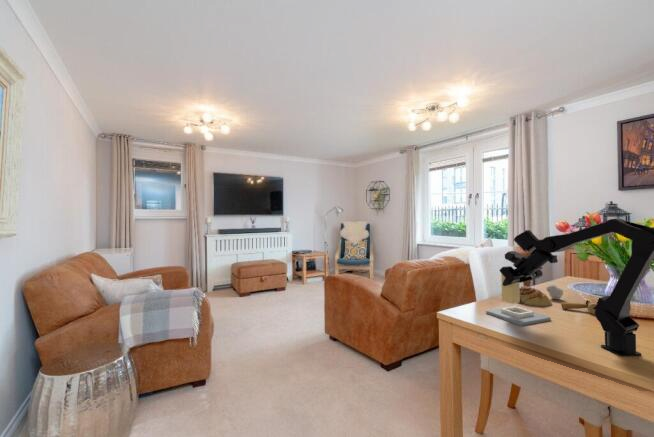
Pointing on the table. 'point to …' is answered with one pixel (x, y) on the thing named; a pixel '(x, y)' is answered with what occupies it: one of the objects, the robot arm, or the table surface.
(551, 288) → the frog figurine
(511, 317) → the baseplate
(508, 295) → the pillar
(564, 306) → the kendama
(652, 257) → the robot arm
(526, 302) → the pastry
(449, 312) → the table surface
